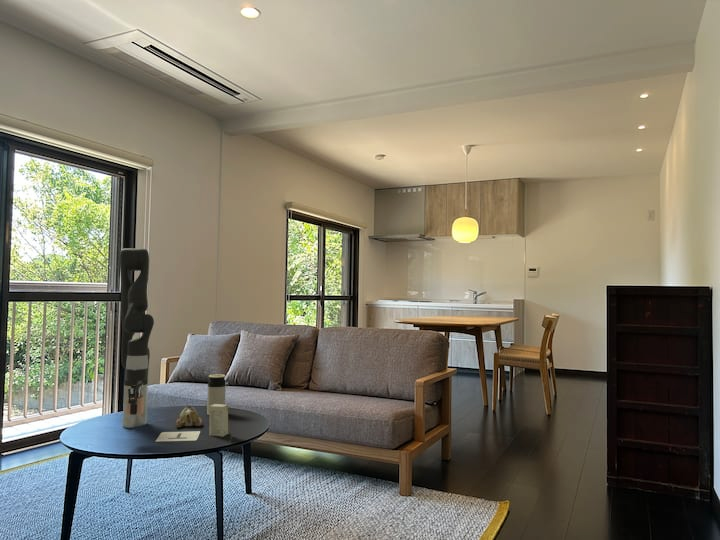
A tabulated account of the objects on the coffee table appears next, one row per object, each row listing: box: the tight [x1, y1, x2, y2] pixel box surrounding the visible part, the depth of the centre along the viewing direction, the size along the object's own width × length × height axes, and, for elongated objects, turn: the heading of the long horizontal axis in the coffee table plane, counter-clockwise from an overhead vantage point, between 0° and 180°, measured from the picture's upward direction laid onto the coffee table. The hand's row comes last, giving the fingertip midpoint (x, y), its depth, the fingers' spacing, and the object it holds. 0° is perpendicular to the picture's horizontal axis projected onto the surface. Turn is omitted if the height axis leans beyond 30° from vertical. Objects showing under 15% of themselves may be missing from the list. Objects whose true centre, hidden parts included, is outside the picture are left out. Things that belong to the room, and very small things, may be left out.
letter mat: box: [154, 430, 201, 443], centre depth 207 cm, size 13×15×1 cm
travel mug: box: [206, 373, 227, 416], centre depth 246 cm, size 8×8×18 cm
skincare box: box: [208, 404, 229, 437], centre depth 210 cm, size 6×4×12 cm
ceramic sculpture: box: [174, 404, 203, 429], centre depth 225 cm, size 11×9×15 cm
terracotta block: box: [126, 396, 144, 415], centre depth 198 cm, size 5×5×6 cm
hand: (135, 412), depth 198 cm, fingers closed on terracotta block, 5 cm apart
